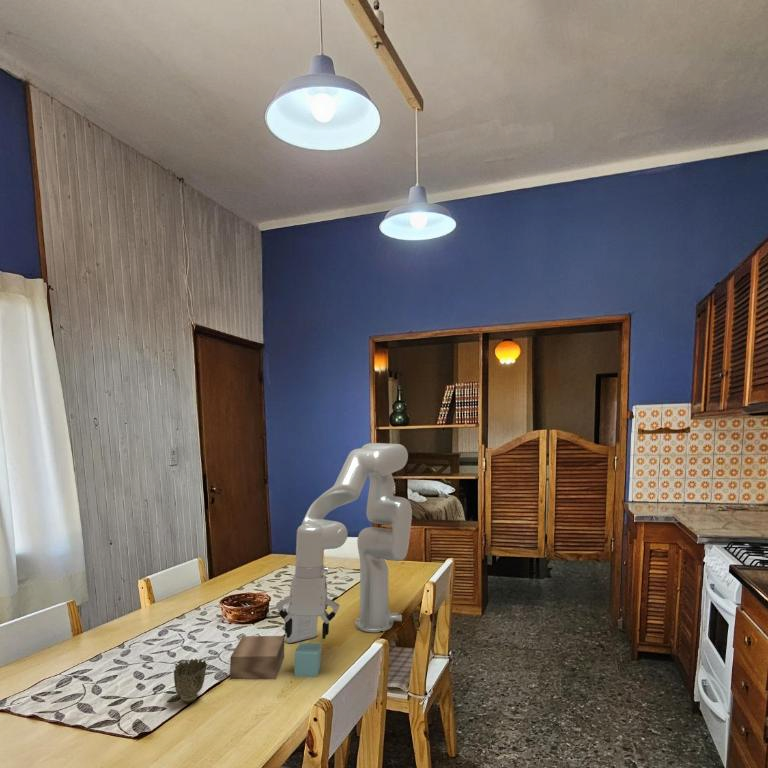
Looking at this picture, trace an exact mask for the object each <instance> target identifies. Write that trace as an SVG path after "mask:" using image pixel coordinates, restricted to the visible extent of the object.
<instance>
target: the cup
mask: <svg viewBox="0 0 768 768" xmlns="http://www.w3.org/2000/svg"><path fill="white" fill-rule="evenodd" d="M202 660H203V659H201V658H200V659H199V660H198V659H197V658H195V659H194V658H191V659H190V661H188V660H187V659H186V660H185V661H184V662H180V661H179V662H178V664H176V665H175V667H174V670H173V679H174V688H175V691H176V693H177V695H178V696H180V700H181V702H182V703H183V704H191V703H193V702H194V701H196V699H197V698H198V693H199V692H200V691H201V690H202V688H203V686H204V683H205V677H206V670H207V669H206V668H207V666H208V665H207V662H206V660H205V659H204V660H203V661H202Z"/></svg>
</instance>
